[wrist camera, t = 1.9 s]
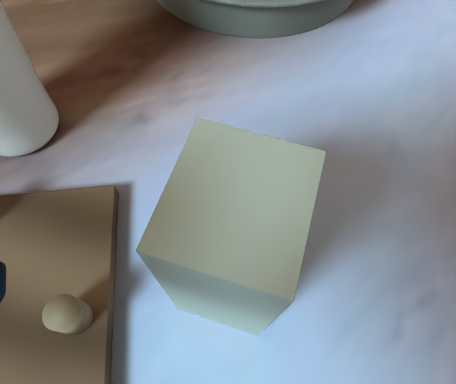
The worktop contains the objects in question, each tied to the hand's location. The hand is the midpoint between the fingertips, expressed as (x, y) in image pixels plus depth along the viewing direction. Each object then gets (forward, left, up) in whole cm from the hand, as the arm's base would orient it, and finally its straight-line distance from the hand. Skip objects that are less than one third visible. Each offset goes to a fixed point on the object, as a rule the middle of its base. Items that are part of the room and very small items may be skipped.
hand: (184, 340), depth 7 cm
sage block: (+4, -2, -11) cm, 12 cm away
